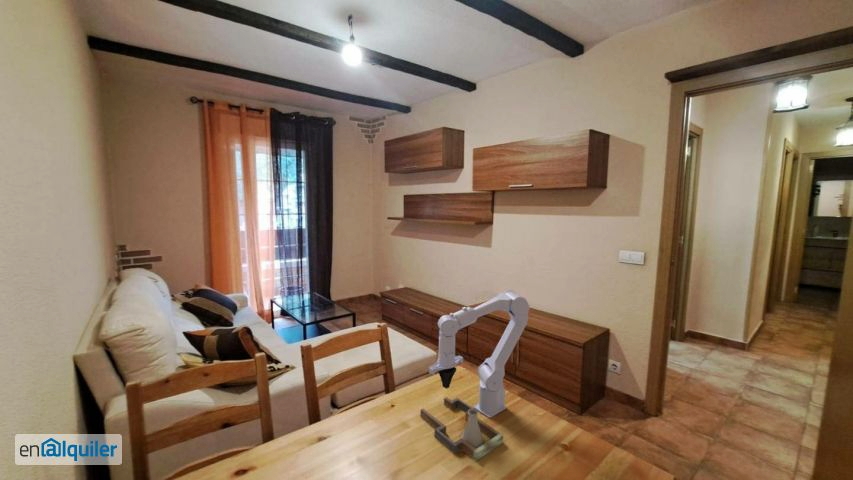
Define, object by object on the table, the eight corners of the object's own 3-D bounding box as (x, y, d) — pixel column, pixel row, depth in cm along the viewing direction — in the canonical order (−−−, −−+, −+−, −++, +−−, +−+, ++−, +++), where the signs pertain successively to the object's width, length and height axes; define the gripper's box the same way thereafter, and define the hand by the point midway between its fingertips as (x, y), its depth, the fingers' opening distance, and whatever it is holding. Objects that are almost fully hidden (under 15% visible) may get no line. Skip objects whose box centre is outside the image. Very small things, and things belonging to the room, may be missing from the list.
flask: (480, 452, 104) (481, 421, 102) (457, 444, 107) (458, 414, 105) (486, 437, 110) (487, 408, 109) (464, 430, 113) (465, 402, 112)
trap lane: (451, 400, 130) (451, 394, 129) (508, 438, 110) (508, 431, 109) (414, 419, 118) (414, 412, 118) (469, 465, 98) (469, 457, 98)
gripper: (453, 341, 127) (452, 375, 129) (423, 351, 118) (422, 388, 119) (467, 347, 121) (466, 383, 123) (436, 359, 112) (436, 398, 114)
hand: (445, 386), depth 121 cm, fingers closed
